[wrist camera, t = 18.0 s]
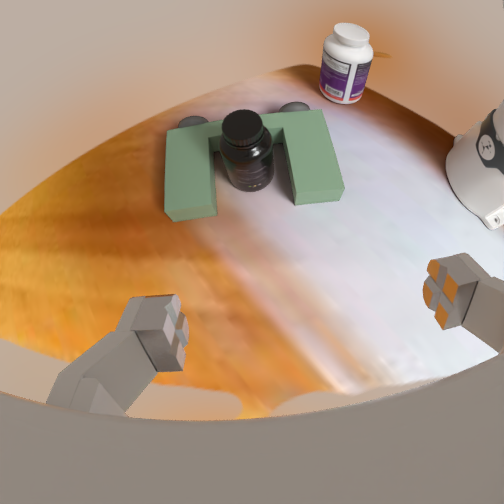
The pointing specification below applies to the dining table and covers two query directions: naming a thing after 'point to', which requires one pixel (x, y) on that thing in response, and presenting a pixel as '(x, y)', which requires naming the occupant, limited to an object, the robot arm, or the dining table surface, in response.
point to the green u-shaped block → (283, 131)
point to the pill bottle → (345, 63)
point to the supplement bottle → (247, 150)
